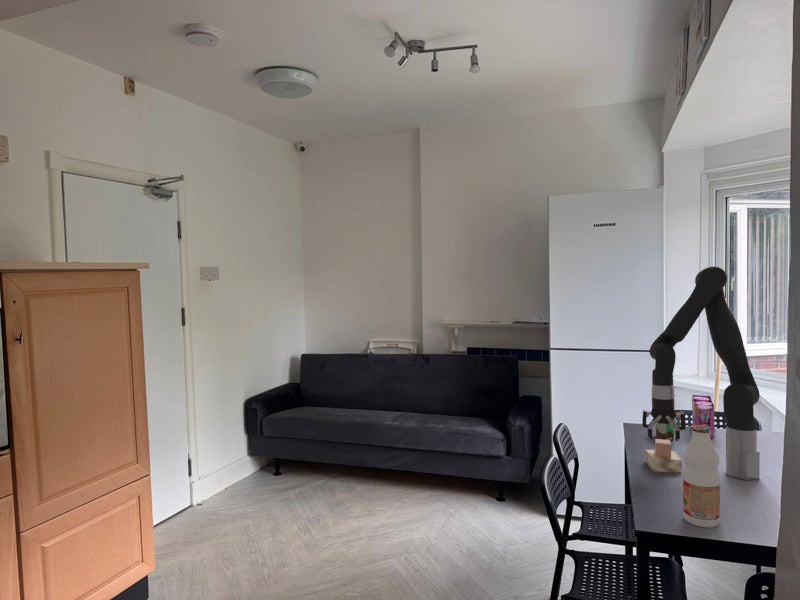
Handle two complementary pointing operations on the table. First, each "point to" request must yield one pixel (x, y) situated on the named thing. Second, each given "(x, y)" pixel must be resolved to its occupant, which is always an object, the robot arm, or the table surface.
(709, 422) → the gum box
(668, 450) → the terracotta cube
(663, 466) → the birch block
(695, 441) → the fruit juice
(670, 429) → the food container
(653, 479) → the table surface
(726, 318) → the robot arm
